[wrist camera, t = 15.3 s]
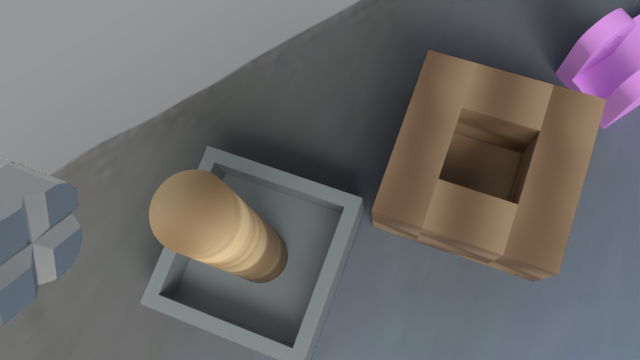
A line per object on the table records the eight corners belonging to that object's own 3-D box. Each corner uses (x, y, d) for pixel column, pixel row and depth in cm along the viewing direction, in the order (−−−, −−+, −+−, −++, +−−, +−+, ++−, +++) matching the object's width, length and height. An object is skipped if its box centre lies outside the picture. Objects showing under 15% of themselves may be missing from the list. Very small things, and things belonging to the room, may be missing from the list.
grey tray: (364, 209, 42) (363, 198, 38) (309, 365, 40) (301, 369, 36) (222, 161, 44) (207, 145, 41) (161, 305, 42) (139, 303, 38)
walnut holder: (575, 130, 42) (606, 99, 36) (532, 281, 40) (558, 274, 34) (422, 85, 44) (428, 49, 39) (372, 226, 42) (371, 210, 36)
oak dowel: (296, 239, 41) (246, 185, 26) (276, 291, 40) (212, 266, 25) (247, 221, 42) (170, 158, 27) (226, 271, 41) (134, 236, 26)
